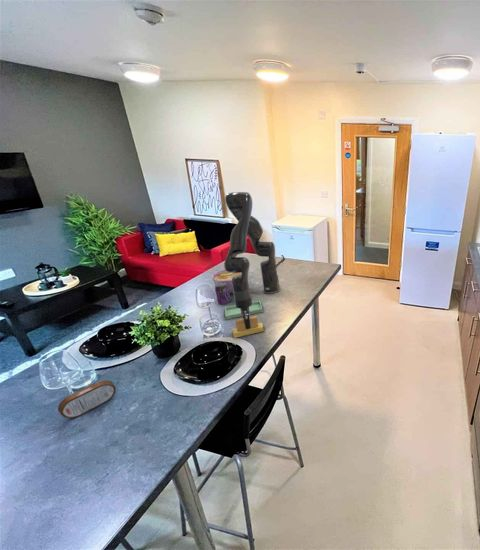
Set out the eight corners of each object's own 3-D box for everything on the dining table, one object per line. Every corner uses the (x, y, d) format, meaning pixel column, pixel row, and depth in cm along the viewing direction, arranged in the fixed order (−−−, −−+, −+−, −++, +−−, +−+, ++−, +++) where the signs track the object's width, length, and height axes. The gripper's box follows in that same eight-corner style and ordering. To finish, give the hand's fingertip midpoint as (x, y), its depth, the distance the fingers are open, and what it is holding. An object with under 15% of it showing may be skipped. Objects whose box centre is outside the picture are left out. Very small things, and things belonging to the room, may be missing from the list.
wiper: (233, 332, 146) (230, 319, 143) (262, 326, 152) (260, 313, 148) (234, 337, 142) (231, 324, 139) (263, 331, 147) (261, 317, 144)
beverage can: (225, 305, 170) (222, 287, 165) (215, 304, 171) (211, 286, 166) (233, 299, 176) (229, 282, 171) (222, 298, 177) (219, 280, 172)
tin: (117, 391, 110) (109, 375, 107) (120, 395, 108) (112, 378, 105) (63, 419, 99) (52, 401, 95) (66, 424, 97) (55, 406, 94)
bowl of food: (207, 293, 182) (204, 277, 177) (232, 281, 199) (229, 265, 194) (232, 300, 175) (228, 283, 171) (255, 286, 192) (252, 271, 187)
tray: (225, 310, 165) (224, 307, 164) (260, 303, 173) (260, 300, 172) (226, 319, 156) (225, 316, 156) (263, 311, 164) (262, 308, 163)
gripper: (252, 301, 134) (257, 332, 141) (249, 289, 146) (254, 318, 153) (235, 304, 131) (241, 336, 138) (233, 292, 143) (238, 321, 150)
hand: (247, 326), depth 145 cm, fingers closed on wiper, 2 cm apart
